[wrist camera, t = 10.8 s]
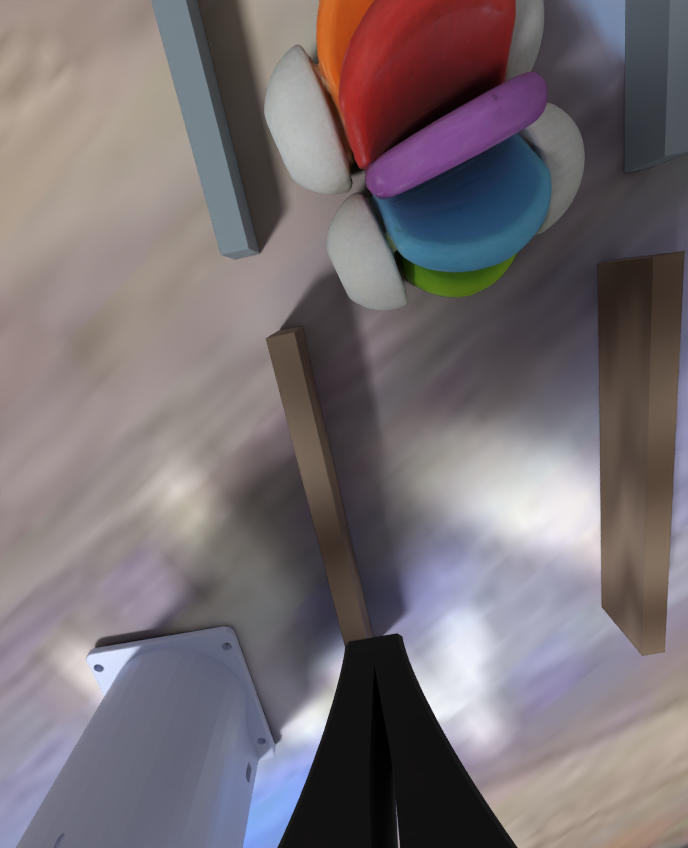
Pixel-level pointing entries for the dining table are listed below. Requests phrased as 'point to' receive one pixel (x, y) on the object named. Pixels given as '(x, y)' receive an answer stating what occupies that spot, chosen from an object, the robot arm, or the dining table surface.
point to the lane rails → (619, 449)
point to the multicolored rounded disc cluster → (426, 140)
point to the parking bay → (215, 157)
